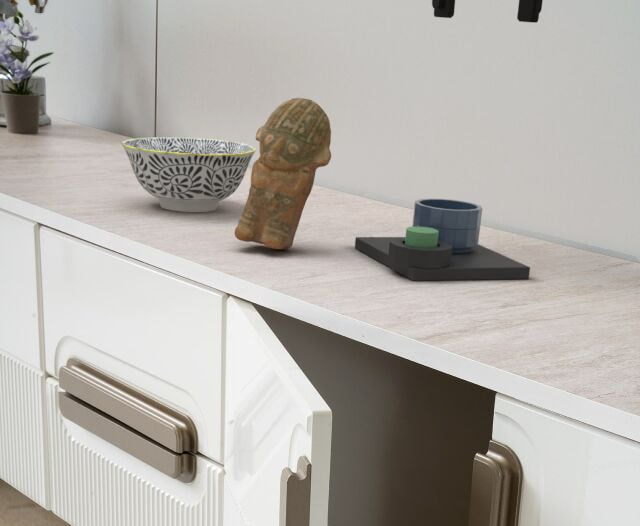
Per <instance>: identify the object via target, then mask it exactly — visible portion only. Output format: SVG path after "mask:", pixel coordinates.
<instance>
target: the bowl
mask: <svg viewBox="0 0 640 526" xmlns="http://www.w3.org/2000/svg"><path fill="white" fill-rule="evenodd" d="M121 145H122V147H123V149H124V151H125V153H126V156H127V158H128V160H129V163H130V166H131V169H132V171H133V174H134V176H135V178H136V180H137V182H138V183H139V184H140V186H141V187H142V188H143V189H144V191H146V193H148V194H149V195H151V196H152V197H154V198H156V199H157V200H158V201H159V206H160V207H161V208H162V209H165V210H168V211H173V212H181V213H208V212H214V211H216V210H217V209H218V207H219V203H220V202H222V201H223V200H225V199H228V198H229V197H230V196H232V195H233V194H234V193H235V192H236V191H237V189H238V188H239V187H240V185H241V183H242V181H243V180H244V177H245V175H246V173H247V170H248V167H249V166H250V165H249V164H250V162H251V161H252V158H253V156H254V154H255V152H257V151H256V150H257V148H256V147H255V146H253V145H251V144H247V143H245V142H238V141H234V140H233V141H232V140H225V139H216V138H200V137H179V136H176V137H173V136H160V137H159V136H157V137H156V136H155V137H138V138H130V139H126V140H124V141H122V142H121Z"/></svg>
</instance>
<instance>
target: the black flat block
mask: <svg viewBox="0 0 640 526" xmlns="http://www.w3.org/2000/svg"><path fill="white" fill-rule="evenodd" d="M405 237H406V236H355V240H354V248H355V249H356V250H358V251H360V252H361V253H363V254H365V255H366V256H368V257H370V258H372V259H374V260H375V261H377V262H379V263H381V264H382V265H384V266H386V267H388V268H389V269H391V270H393V271H394V272H396V273H398V274H400V275H402V276H403V277H406V278H407V279H409V280H411V281H412V282H413V281H414V282H417V281H420V282H421V281H425V282H426V281H474V280H475V281H478V280H479V281H481V280H485V281H486V280H528V279H529V278H530V272H531V267H530V266H528V265H526V264H523V263H521V262H520V261H517V260H515V259H512V258H510V257H508V256H506V255H504V254H501V253H500V252H497V251H495V250H492V249H490V248H487V247H486V246H483V245H481V244H479V243H478V245H477V246H475V247H473V250H472V251H471V252H467V253H452V245H451V244H448V243H446V242H443V241H439V240H438V243H437V247H435V248H423V247H414V246H410V245H405Z"/></svg>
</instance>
